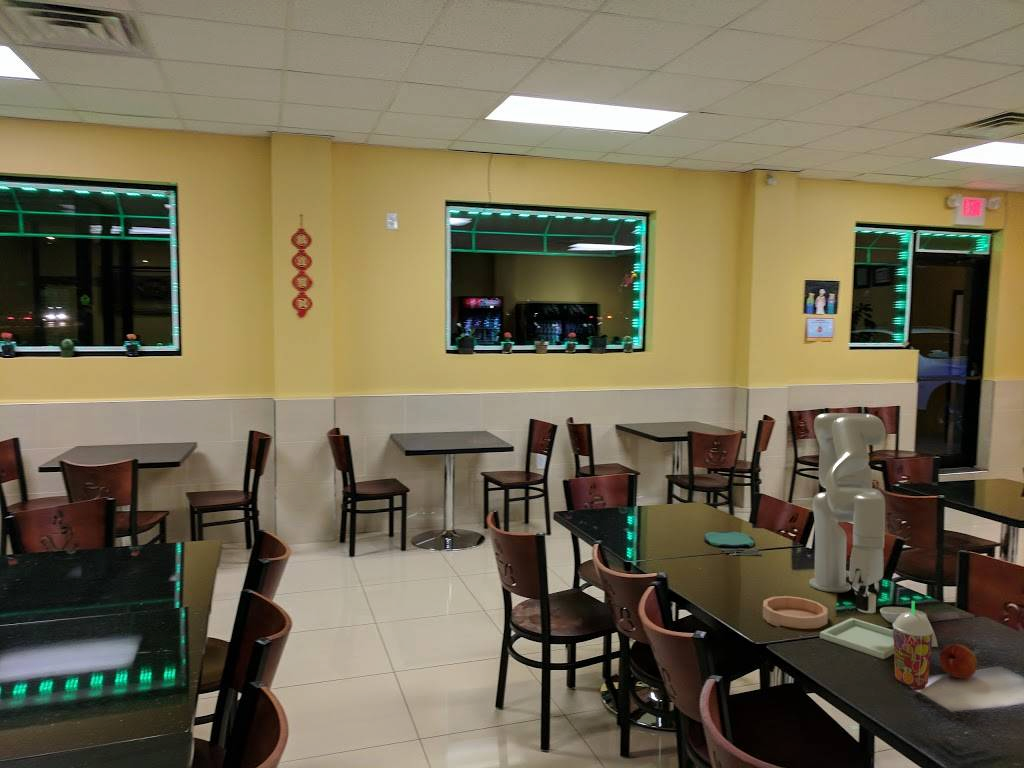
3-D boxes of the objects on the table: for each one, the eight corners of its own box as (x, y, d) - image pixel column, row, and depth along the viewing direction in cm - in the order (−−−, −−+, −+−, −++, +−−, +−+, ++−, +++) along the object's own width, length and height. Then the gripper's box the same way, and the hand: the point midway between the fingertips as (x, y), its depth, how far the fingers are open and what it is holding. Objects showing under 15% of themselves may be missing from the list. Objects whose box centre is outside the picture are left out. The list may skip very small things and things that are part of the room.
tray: (851, 626, 204) (851, 617, 204) (914, 645, 190) (914, 636, 190) (819, 641, 194) (819, 632, 193) (883, 663, 180) (883, 653, 180)
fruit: (931, 670, 176) (931, 638, 176) (962, 668, 177) (963, 637, 176) (952, 685, 168) (953, 651, 168) (985, 683, 169) (986, 650, 168)
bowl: (784, 605, 221) (784, 592, 221) (838, 622, 207) (839, 608, 207) (751, 618, 210) (751, 604, 210) (806, 637, 196) (806, 622, 196)
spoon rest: (873, 616, 212) (874, 592, 211) (915, 618, 210) (916, 594, 210) (906, 650, 188) (906, 623, 188) (954, 652, 187) (954, 625, 186)
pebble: (862, 605, 195) (862, 589, 195) (878, 610, 192) (879, 594, 191) (854, 609, 192) (854, 593, 192) (870, 614, 189) (871, 598, 189)
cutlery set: (747, 536, 302) (747, 530, 302) (767, 558, 272) (767, 552, 272) (699, 536, 303) (699, 530, 303) (714, 558, 274) (714, 552, 274)
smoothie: (883, 677, 172) (885, 595, 171) (916, 675, 173) (918, 594, 172) (905, 693, 164) (907, 608, 163) (940, 692, 165) (942, 607, 164)
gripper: (869, 531, 199) (868, 595, 200) (838, 543, 189) (836, 610, 190) (897, 537, 193) (895, 603, 194) (866, 550, 183) (864, 619, 184)
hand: (866, 606), depth 192 cm, fingers closed on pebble, 4 cm apart
